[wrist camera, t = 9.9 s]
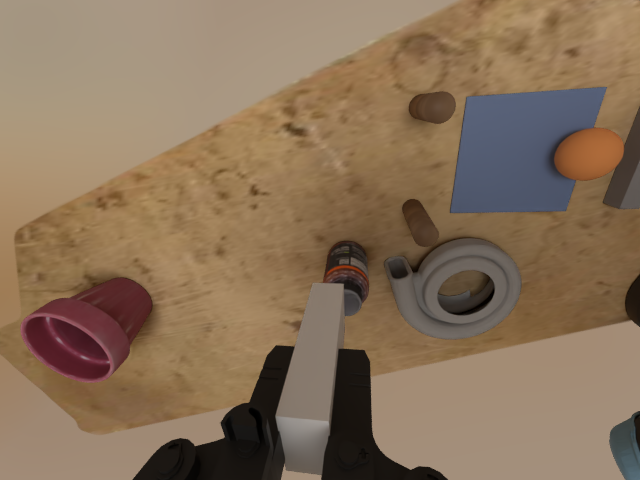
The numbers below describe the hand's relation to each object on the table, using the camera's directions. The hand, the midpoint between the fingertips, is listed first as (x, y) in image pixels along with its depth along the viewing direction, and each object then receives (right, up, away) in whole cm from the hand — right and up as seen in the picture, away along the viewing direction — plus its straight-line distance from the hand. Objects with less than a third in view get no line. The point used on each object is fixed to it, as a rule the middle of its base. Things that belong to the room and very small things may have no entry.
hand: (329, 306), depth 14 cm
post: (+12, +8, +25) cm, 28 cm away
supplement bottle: (+4, +1, +29) cm, 30 cm away
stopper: (+36, +13, +18) cm, 42 cm away
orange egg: (+29, +13, +17) cm, 35 cm away
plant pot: (-36, -7, +39) cm, 54 cm away
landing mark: (+24, +13, +20) cm, 34 cm away
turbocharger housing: (+19, -3, +29) cm, 35 cm away
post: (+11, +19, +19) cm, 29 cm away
